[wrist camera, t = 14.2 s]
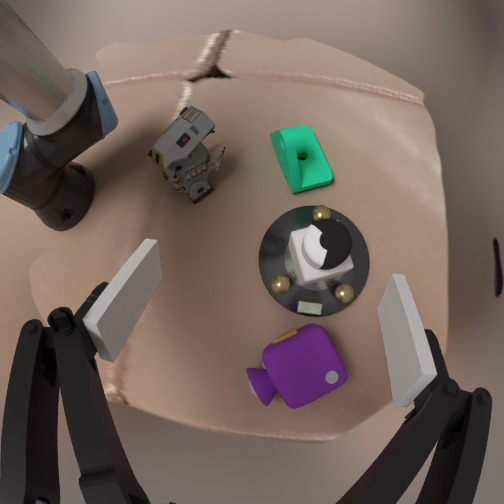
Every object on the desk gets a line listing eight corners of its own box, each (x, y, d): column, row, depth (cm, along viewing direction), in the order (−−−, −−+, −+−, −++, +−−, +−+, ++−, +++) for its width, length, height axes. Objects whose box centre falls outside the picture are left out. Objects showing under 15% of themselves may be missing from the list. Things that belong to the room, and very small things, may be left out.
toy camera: (237, 364, 45) (228, 377, 35) (304, 312, 46) (312, 312, 36) (278, 413, 42) (279, 436, 33) (344, 361, 43) (362, 373, 34)
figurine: (240, 172, 51) (228, 123, 37) (188, 210, 51) (158, 171, 36) (212, 141, 53) (195, 90, 39) (163, 176, 52) (131, 133, 38)
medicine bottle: (329, 232, 46) (347, 206, 34) (342, 274, 45) (365, 261, 33) (287, 243, 46) (292, 219, 35) (299, 287, 45) (309, 277, 33)
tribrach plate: (251, 307, 46) (249, 307, 43) (267, 201, 50) (267, 193, 46) (359, 322, 44) (366, 322, 41) (369, 217, 48) (375, 210, 45)
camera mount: (331, 185, 50) (343, 156, 40) (291, 196, 50) (295, 168, 40) (308, 132, 53) (313, 98, 43) (270, 141, 53) (269, 107, 43)
